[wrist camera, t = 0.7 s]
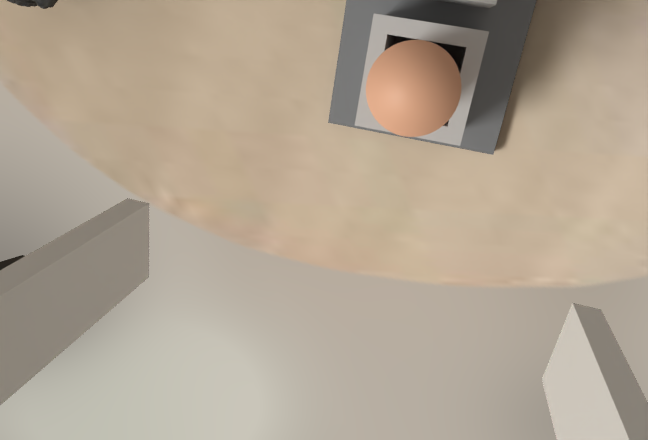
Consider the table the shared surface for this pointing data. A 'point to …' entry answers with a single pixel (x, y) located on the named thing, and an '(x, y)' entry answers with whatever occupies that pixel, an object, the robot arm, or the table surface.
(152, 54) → the table surface
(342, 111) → the panel
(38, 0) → the camera
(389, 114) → the plug terracotta
